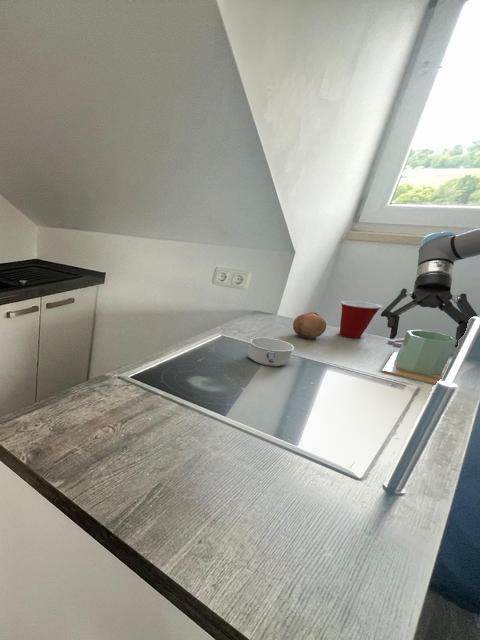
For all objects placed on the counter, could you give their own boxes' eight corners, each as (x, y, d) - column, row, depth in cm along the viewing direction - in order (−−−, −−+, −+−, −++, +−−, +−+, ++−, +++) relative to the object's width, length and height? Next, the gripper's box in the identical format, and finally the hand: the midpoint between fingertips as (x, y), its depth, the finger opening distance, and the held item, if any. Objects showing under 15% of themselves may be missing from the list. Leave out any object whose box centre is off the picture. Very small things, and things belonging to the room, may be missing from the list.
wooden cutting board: (441, 386, 104) (442, 384, 103) (381, 371, 112) (382, 370, 112) (448, 364, 115) (449, 362, 115) (393, 353, 124) (394, 351, 123)
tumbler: (460, 343, 103) (450, 333, 110) (412, 337, 108) (405, 328, 114) (444, 377, 107) (435, 365, 114) (398, 370, 112) (392, 359, 118)
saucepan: (243, 373, 113) (247, 356, 111) (246, 350, 128) (250, 335, 126) (290, 382, 107) (296, 364, 105) (288, 357, 123) (293, 341, 120)
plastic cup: (366, 333, 140) (378, 301, 135) (372, 342, 132) (385, 308, 127) (328, 328, 146) (339, 297, 141) (332, 337, 137) (343, 304, 133)
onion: (301, 341, 143) (309, 315, 142) (328, 343, 134) (337, 315, 133) (282, 334, 140) (291, 307, 140) (309, 336, 131) (318, 307, 131)
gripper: (382, 268, 121) (372, 327, 116) (503, 276, 108) (497, 343, 102) (373, 282, 127) (363, 339, 122) (486, 291, 114) (481, 355, 109)
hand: (425, 341), depth 112 cm, fingers open, 13 cm apart
